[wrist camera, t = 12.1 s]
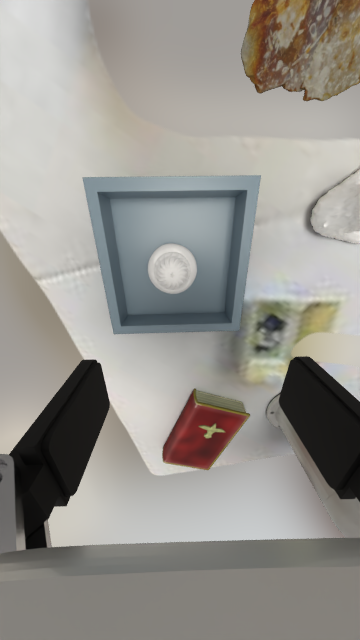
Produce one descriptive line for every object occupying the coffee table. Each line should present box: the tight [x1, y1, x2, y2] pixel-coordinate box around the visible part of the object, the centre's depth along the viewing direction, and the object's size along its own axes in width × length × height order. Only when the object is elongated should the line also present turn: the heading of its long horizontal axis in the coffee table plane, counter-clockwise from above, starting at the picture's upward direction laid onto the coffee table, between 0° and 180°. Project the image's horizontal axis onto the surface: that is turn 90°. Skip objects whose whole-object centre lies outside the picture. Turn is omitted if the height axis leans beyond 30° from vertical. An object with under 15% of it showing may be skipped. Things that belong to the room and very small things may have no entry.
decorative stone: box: [241, 0, 360, 101], centre depth 16 cm, size 10×4×15 cm
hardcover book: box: [162, 389, 250, 470], centre depth 41 cm, size 12×21×4 cm, turn 160°
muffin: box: [148, 243, 197, 294], centre depth 23 cm, size 6×6×7 cm
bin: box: [83, 175, 261, 334], centre depth 24 cm, size 18×18×5 cm
